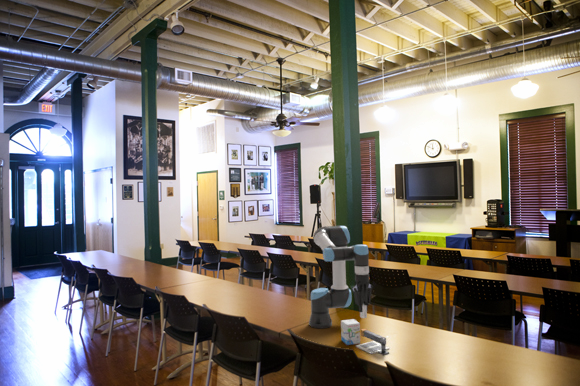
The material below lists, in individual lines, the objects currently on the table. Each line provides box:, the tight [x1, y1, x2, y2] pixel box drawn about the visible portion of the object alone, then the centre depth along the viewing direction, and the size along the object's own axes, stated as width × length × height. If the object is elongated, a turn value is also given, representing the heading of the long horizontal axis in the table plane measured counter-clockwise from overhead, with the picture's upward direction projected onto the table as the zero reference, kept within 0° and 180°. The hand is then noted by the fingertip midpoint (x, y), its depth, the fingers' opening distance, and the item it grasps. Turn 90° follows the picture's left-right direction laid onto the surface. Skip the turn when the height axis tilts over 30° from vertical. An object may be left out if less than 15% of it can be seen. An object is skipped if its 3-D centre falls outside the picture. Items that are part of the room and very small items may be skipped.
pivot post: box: [377, 344, 390, 356], centre depth 205 cm, size 4×4×5 cm
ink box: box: [340, 318, 361, 346], centre depth 224 cm, size 9×8×12 cm
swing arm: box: [360, 328, 387, 345], centre depth 212 cm, size 18×3×3 cm, turn 29°
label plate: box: [355, 340, 391, 355], centre depth 213 cm, size 13×13×1 cm
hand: (363, 317), depth 209 cm, fingers closed
